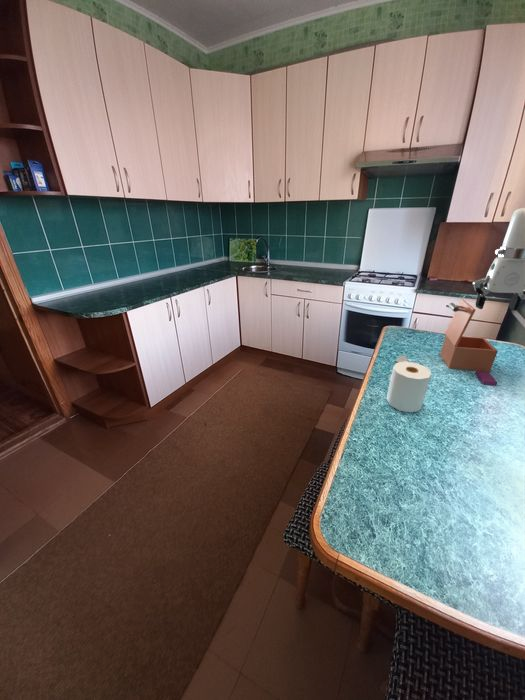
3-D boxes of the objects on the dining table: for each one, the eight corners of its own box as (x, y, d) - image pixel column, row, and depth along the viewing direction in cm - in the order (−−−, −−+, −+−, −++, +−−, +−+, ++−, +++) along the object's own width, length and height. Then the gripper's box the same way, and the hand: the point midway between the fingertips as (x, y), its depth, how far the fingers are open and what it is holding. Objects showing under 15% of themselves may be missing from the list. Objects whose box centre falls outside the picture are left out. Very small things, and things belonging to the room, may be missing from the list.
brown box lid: (463, 299, 109) (448, 297, 109) (475, 309, 99) (459, 306, 99) (446, 334, 116) (432, 331, 116) (456, 346, 106) (441, 343, 106)
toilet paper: (387, 390, 98) (394, 358, 92) (421, 397, 94) (430, 365, 88) (385, 407, 90) (392, 374, 84) (422, 416, 86) (432, 381, 80)
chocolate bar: (474, 374, 106) (476, 370, 105) (487, 375, 105) (488, 371, 104) (482, 384, 100) (484, 380, 99) (496, 386, 99) (497, 382, 98)
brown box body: (477, 357, 117) (484, 337, 113) (489, 372, 107) (498, 350, 103) (439, 354, 120) (445, 334, 116) (448, 368, 110) (455, 347, 106)
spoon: (409, 360, 116) (409, 356, 115) (396, 383, 101) (397, 379, 100) (398, 357, 118) (398, 353, 117) (384, 380, 103) (385, 376, 102)
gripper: (489, 255, 85) (471, 311, 92) (557, 256, 82) (532, 313, 90) (477, 251, 91) (461, 304, 99) (539, 252, 88) (518, 306, 96)
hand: (495, 308), depth 94 cm, fingers open, 9 cm apart
